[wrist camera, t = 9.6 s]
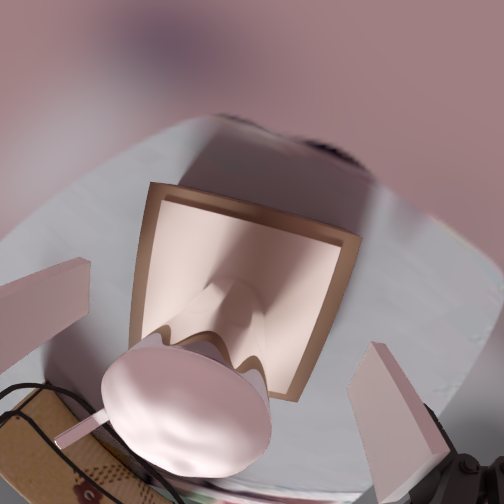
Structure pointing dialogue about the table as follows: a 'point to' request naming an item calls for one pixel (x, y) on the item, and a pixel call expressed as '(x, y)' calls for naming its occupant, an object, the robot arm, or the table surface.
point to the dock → (244, 272)
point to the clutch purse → (65, 456)
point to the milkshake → (193, 388)
